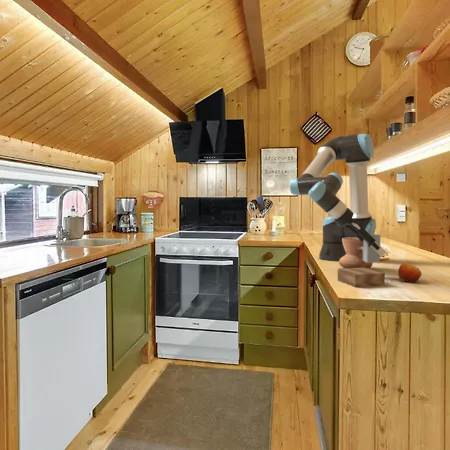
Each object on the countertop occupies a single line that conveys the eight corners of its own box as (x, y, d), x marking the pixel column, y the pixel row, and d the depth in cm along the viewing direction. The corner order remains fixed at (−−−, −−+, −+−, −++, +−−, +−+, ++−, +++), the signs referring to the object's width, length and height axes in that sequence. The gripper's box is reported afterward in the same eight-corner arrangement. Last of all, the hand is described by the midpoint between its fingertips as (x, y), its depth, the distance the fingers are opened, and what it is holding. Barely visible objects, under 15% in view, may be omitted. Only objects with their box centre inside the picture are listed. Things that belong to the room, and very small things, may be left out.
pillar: (363, 260, 150) (363, 234, 149) (375, 260, 150) (375, 234, 149) (367, 262, 145) (367, 235, 144) (379, 262, 145) (380, 235, 144)
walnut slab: (364, 279, 144) (365, 267, 144) (384, 286, 132) (384, 273, 132) (337, 281, 141) (337, 268, 141) (355, 288, 130) (355, 274, 129)
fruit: (389, 275, 144) (401, 258, 143) (407, 285, 143) (418, 268, 142) (397, 279, 136) (409, 261, 135) (415, 290, 135) (427, 272, 134)
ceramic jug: (333, 266, 174) (334, 236, 173) (363, 265, 174) (363, 236, 173) (347, 273, 156) (348, 240, 155) (380, 273, 156) (381, 240, 155)
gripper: (328, 218, 156) (366, 256, 156) (339, 221, 138) (382, 263, 138) (341, 206, 155) (379, 244, 156) (353, 207, 137) (397, 250, 138)
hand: (380, 253), depth 147 cm, fingers closed on pillar, 5 cm apart
